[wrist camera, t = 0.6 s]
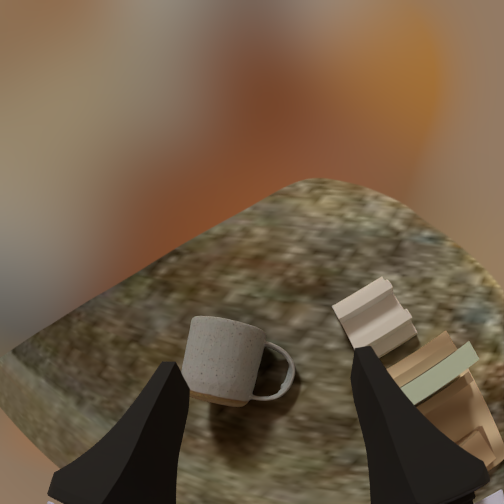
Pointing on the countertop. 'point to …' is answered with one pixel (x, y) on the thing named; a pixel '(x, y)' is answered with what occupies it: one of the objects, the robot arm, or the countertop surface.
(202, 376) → the ceramic mug
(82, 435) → the countertop surface
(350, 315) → the stand
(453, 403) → the rack
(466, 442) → the offcut top
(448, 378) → the pale green square slab
